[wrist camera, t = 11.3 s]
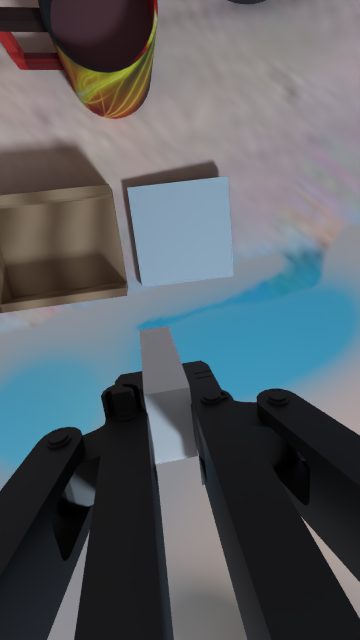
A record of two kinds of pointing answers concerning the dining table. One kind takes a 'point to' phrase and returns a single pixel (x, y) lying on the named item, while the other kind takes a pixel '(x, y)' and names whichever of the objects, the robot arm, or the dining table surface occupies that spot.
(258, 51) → the dining table surface
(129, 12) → the mug
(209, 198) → the pale blue square panel
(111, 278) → the crate
